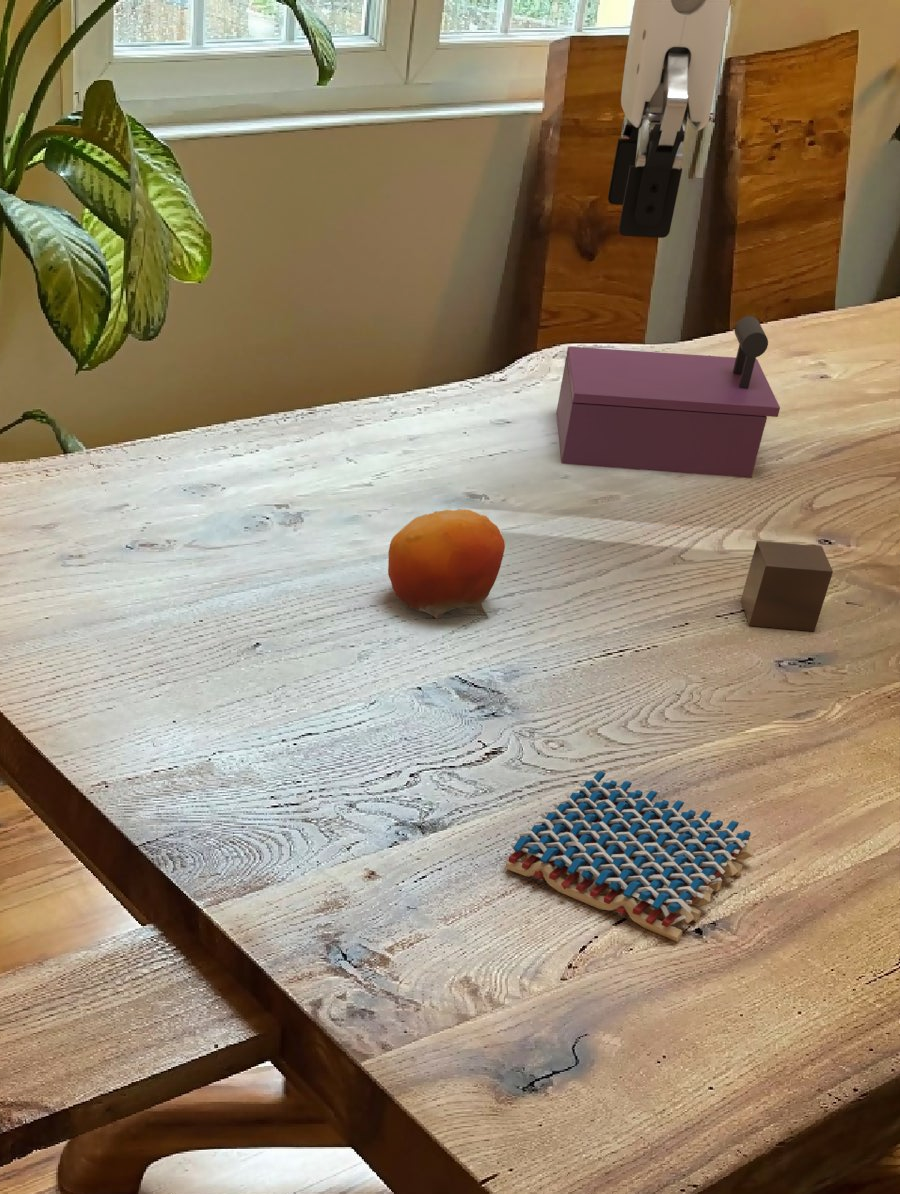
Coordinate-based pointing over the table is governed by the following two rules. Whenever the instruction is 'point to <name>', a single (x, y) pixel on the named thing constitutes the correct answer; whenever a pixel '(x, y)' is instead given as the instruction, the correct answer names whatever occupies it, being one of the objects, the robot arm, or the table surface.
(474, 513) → the fruit
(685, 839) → the woven mat
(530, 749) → the table surface
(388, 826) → the table surface
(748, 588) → the block
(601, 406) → the box
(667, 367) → the lid
